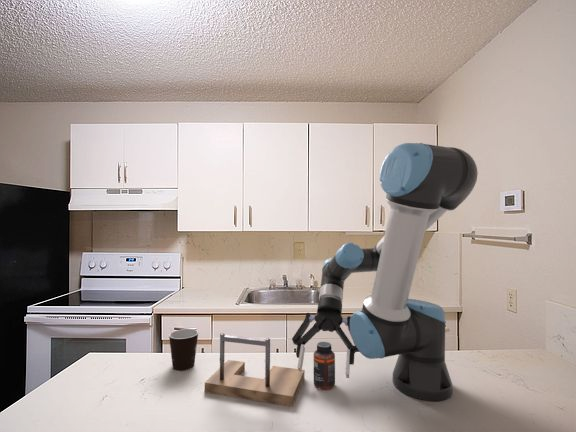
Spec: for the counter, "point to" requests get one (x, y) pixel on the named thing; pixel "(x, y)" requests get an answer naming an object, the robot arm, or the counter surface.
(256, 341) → the grey metal arch frame
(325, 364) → the supplement bottle
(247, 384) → the notched wooden board
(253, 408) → the counter surface
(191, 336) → the coffee mug
